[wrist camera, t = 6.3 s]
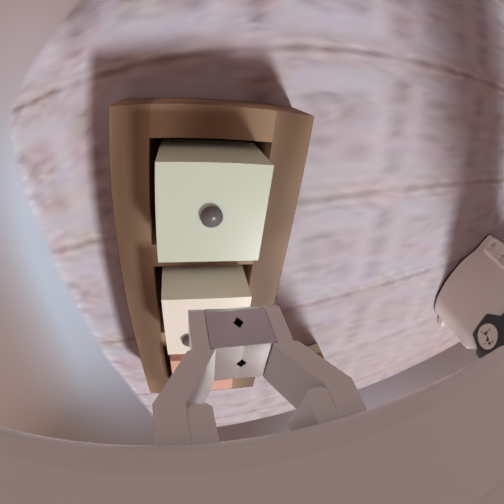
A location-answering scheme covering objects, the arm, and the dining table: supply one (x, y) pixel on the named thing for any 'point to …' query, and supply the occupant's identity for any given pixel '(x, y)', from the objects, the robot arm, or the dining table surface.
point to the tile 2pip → (198, 297)
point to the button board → (143, 200)
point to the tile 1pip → (210, 200)
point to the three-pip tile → (217, 385)
